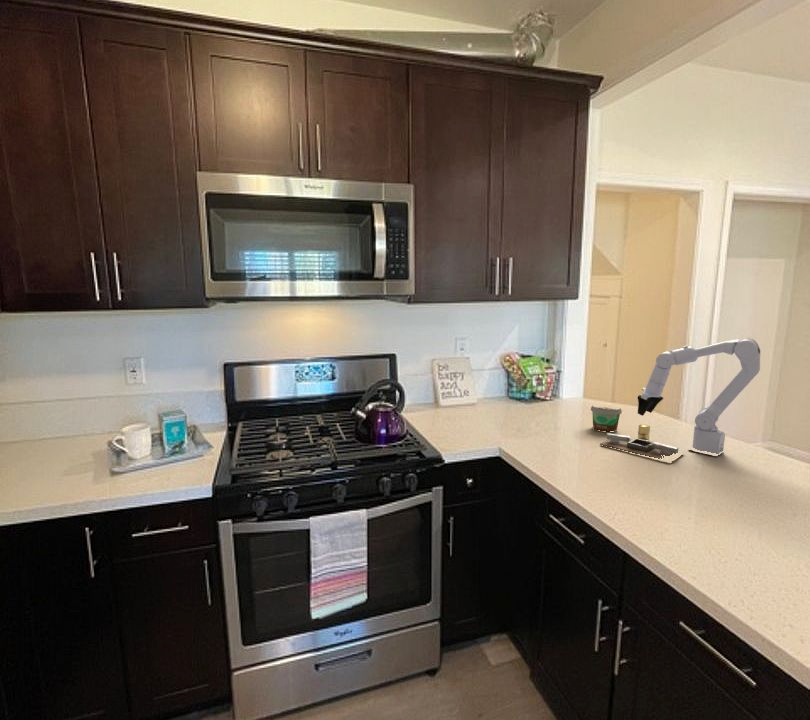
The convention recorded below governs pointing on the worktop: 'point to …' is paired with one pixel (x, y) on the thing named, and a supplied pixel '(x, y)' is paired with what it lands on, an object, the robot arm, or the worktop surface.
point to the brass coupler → (643, 432)
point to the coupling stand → (639, 446)
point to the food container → (605, 418)
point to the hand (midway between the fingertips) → (644, 413)
